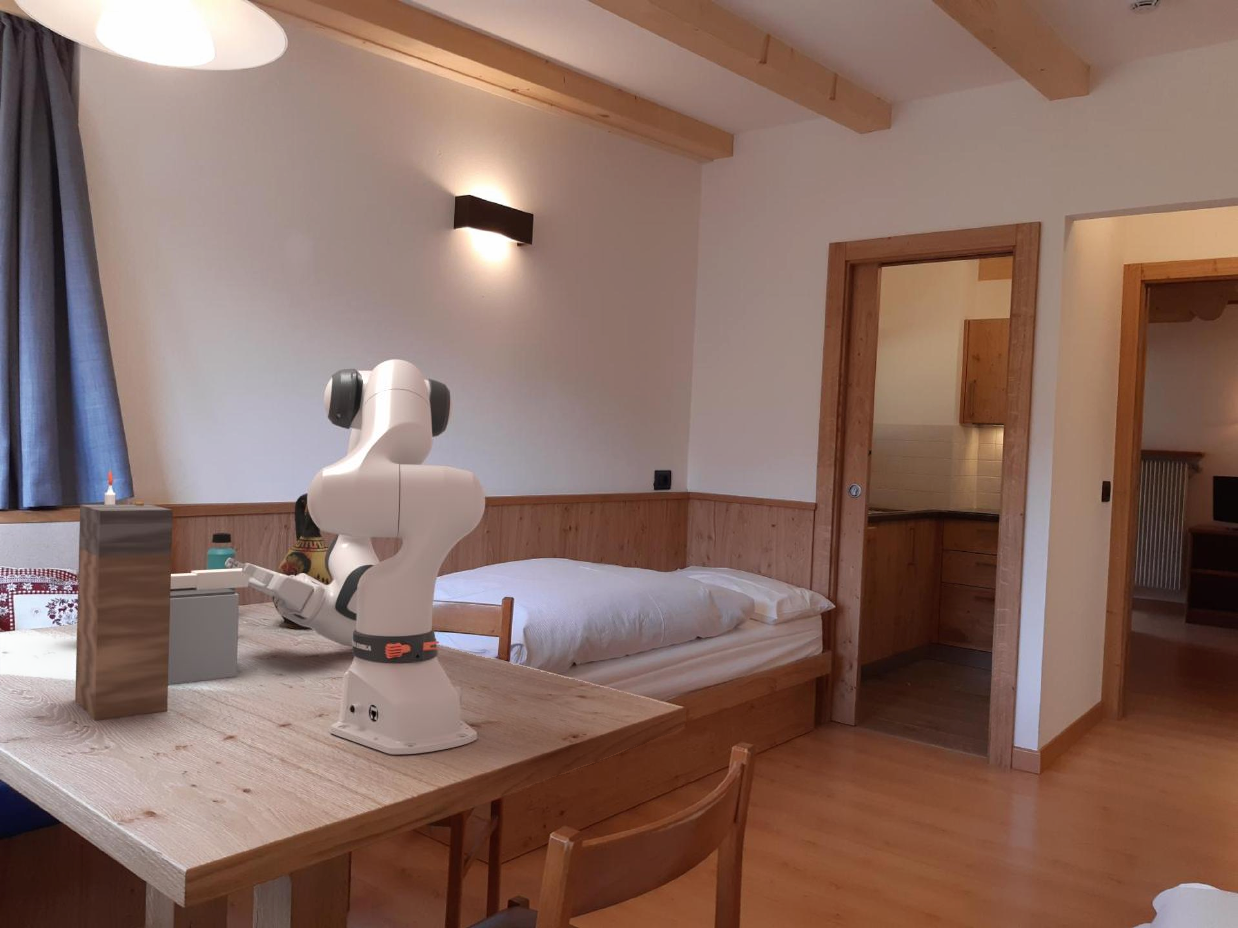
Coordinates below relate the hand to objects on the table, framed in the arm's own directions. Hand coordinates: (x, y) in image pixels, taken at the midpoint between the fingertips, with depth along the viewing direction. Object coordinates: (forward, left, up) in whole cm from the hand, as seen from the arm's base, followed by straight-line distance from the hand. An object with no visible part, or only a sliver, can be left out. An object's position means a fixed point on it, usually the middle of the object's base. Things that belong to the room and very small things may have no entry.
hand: (236, 564), depth 181 cm
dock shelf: (0, +10, -19) cm, 21 cm away
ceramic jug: (+35, -27, -19) cm, 48 cm away
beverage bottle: (+51, -13, -19) cm, 56 cm away
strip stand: (-17, +23, -19) cm, 34 cm away
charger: (0, +7, -4) cm, 8 cm away
